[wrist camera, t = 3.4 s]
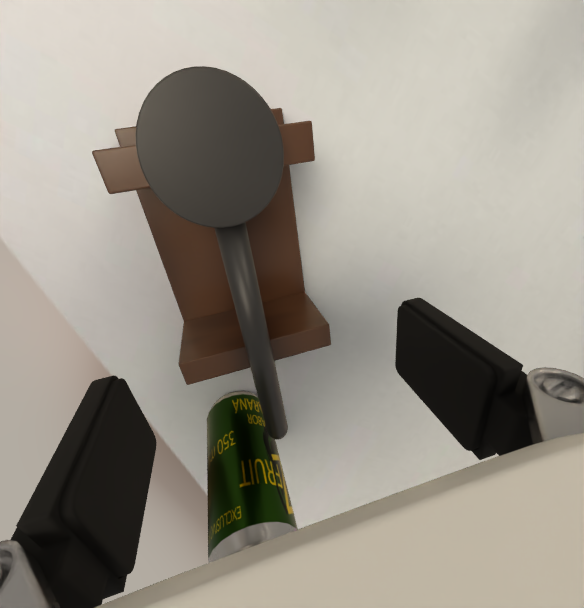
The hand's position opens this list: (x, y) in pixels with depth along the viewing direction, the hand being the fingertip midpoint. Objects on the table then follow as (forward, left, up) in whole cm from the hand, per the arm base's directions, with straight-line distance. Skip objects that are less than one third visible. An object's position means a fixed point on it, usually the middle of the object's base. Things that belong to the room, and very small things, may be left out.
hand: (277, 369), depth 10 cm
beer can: (-3, -14, -13) cm, 19 cm away
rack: (0, 0, -12) cm, 12 cm away
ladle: (0, 0, -6) cm, 6 cm away
